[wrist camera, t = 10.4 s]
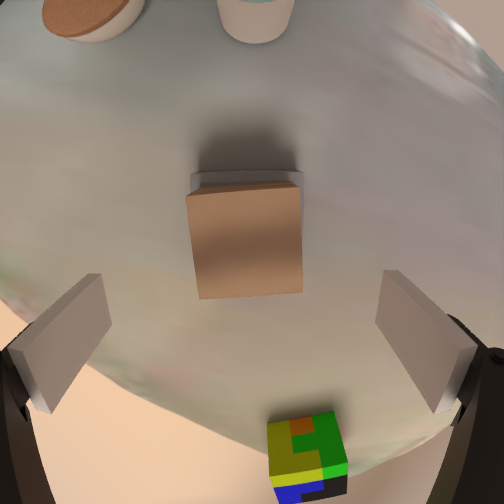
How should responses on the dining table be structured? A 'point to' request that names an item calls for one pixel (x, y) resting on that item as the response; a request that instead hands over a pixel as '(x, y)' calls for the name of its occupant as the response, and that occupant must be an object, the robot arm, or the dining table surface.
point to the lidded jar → (90, 18)
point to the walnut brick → (246, 239)
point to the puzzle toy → (307, 459)
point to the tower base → (248, 179)
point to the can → (255, 18)
